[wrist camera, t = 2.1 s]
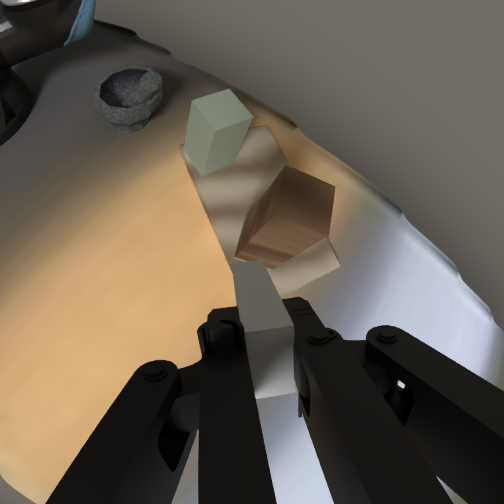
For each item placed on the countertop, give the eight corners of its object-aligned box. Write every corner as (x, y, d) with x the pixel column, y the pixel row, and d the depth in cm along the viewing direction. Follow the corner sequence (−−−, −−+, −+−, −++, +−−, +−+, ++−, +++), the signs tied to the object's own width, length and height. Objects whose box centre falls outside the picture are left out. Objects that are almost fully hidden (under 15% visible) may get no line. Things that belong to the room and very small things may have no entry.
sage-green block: (183, 149, 38) (191, 100, 29) (213, 136, 40) (229, 88, 31) (202, 177, 38) (215, 131, 28) (232, 162, 40) (253, 117, 30)
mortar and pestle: (89, 118, 37) (77, 61, 26) (135, 88, 40) (135, 31, 29) (131, 159, 37) (125, 101, 26) (179, 123, 41) (189, 65, 30)
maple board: (179, 150, 39) (180, 144, 38) (263, 131, 45) (266, 125, 43) (249, 310, 36) (253, 309, 35) (334, 268, 41) (340, 266, 40)
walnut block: (271, 270, 37) (328, 235, 24) (233, 257, 36) (273, 214, 23) (279, 234, 39) (335, 186, 26) (243, 221, 38) (285, 165, 25)
